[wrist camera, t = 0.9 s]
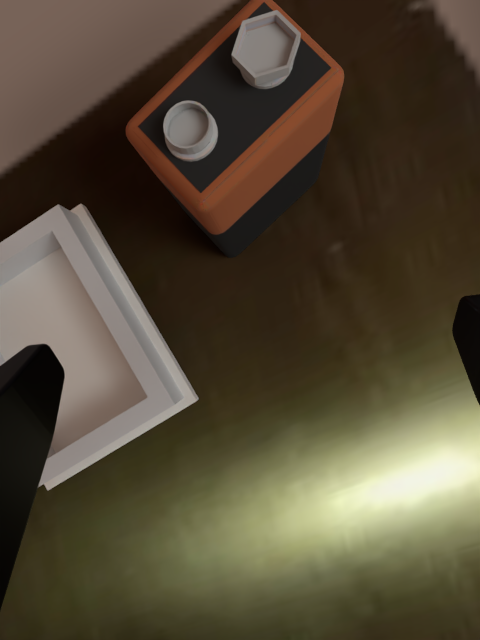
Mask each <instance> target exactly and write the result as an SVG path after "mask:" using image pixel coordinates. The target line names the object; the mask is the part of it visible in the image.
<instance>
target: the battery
mask: <svg viewBox="0 0 480 640" xmlns="http://www.w3.org/2000/svg"><path fill="white" fill-rule="evenodd" d="M343 80H344V72H343V69H342V68H341V67H340V66H339V65H338V64H337V63H336V62H335V61H334V60H333V59H332V58H331V57H330V56H329V55H328V54H327V53H326V52H325V51H324V50H323V49H322V48H321V47H320V46H319V45H318V44H317V43H316V42H315V41H314V40H313V39H312V38H311V37H310V36H309V35H308V34H307V33H306V32H305V31H304V30H303V29H302V28H300V27H299V26H298V25H297V24H296V23H295V22H294V21H293V20H292V19H291V18H290V17H289V16H288V15H287V14H286V13H285V12H284V11H283V10H282V9H281V8H280V7H279V6H278V5H277V4H276V3H275V2H274V1H273V0H251V1H250V2H249V3H248V4H247V5H246V6H245V7H244V8H243V9H242V10H241V11H240V12H239V13H238V14H237V15H236V16H235V17H234V18H233V19H231V20H230V21H229V22H228V23H227V24H226V25H225V26H224V27H223V28H222V29H221V30H220V31H219V32H218V33H217V34H216V35H215V36H214V37H213V38H212V39H211V40H210V41H209V42H208V43H207V44H206V45H205V46H204V47H203V48H202V49H201V50H200V51H199V52H198V53H197V54H196V55H195V56H194V57H193V58H192V59H191V60H190V61H189V62H188V63H187V64H186V65H185V66H184V67H183V68H182V69H181V70H180V71H179V72H178V73H177V74H176V75H175V76H174V77H173V78H172V79H171V80H170V81H169V82H168V83H167V84H166V85H165V86H164V87H163V88H162V89H161V90H160V91H159V92H158V93H157V94H156V95H155V96H154V97H152V98H151V99H150V100H149V101H148V102H147V103H146V104H145V105H144V106H143V107H142V108H141V109H140V110H139V111H138V112H137V113H136V114H135V115H134V116H133V118H132V119H131V120H130V121H129V122H128V124H127V126H126V136H127V138H128V140H129V141H130V143H131V144H132V145H133V147H134V148H135V149H136V151H137V152H138V153H139V154H140V156H141V157H142V158H143V159H144V161H145V162H146V163H147V164H148V166H149V167H150V168H151V170H152V171H153V172H154V173H155V175H156V176H157V177H158V178H159V180H160V181H161V182H162V184H163V185H164V186H165V187H166V189H167V190H168V191H169V192H170V194H171V195H172V196H173V198H174V199H175V200H176V201H177V203H178V204H179V205H180V206H181V208H182V209H183V210H184V211H185V213H186V214H187V215H188V216H189V217H190V218H191V219H192V220H193V221H194V222H195V223H196V224H197V226H198V227H199V228H200V229H201V230H202V231H203V232H204V233H205V234H206V235H207V236H208V237H209V238H210V239H211V240H212V242H213V243H214V244H215V245H216V246H217V247H218V248H219V249H220V250H221V251H222V252H223V253H224V254H225V255H226V256H227V257H230V258H233V257H236V256H237V255H238V254H240V253H241V252H242V251H243V250H244V249H245V248H246V247H247V246H248V245H249V244H250V243H252V242H253V241H254V240H255V239H256V238H257V237H258V236H259V235H260V234H261V233H262V232H263V231H264V230H265V229H266V228H267V227H269V226H270V225H271V224H272V223H273V222H274V221H275V220H276V219H277V218H278V217H279V216H280V215H281V214H282V213H283V212H284V211H286V210H287V209H288V208H289V207H290V206H291V205H292V204H293V203H294V202H295V201H296V200H297V199H298V198H299V197H300V196H301V195H302V194H304V193H305V192H306V191H307V190H308V189H309V188H310V187H311V186H312V185H313V184H314V183H315V182H316V180H317V178H318V175H319V172H320V168H321V164H322V160H323V157H324V153H325V149H326V145H327V141H328V138H329V134H330V130H331V126H332V123H333V119H334V115H335V111H336V108H337V104H338V100H339V96H340V92H341V89H342V85H343Z"/></svg>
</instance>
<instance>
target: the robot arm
mask: <svg viewBox="0 0 480 640" xmlns="http://www.w3.org/2000/svg"><path fill="white" fill-rule="evenodd" d="M452 331H453V337H454V340H455V343H456V345H457V348H458V351H459V354H460V356H461V359H462V362H463V364H464V367H465V370H466V372H467V375H468V378H469V381H470V383H471V386H472V389H473V391H474V394H475V396H476V398H477V401H478V403H479V405H480V294H479V295H470V296H464V297H462V298H461V300H460V302H459V304H458V308H457V312H456V316H455V319H454V323H453V328H452ZM64 379H65V373H64V369H63V366H62V365H61V363H60V362H59V360H58V359H57V357H56V355H55V354H54V352H53V351H52V349H51V348H50V346H48V345H47V344H35V345H29V346H26V347H25V348H23V349H22V350H21V351H19V352H18V353H17V354H15V355H14V356H13V357H11V358H10V359H9V360H7V361H6V362H5V363H3V364H2V365H1V366H0V610H1V607H2V603H3V600H4V597H5V594H6V590H7V587H8V584H9V581H10V577H11V574H12V571H13V568H14V564H15V561H16V558H17V554H18V551H19V548H20V545H21V541H22V538H23V535H24V532H25V528H26V525H27V522H28V519H29V515H30V512H31V509H32V505H33V502H34V499H35V496H36V492H37V489H38V486H39V483H40V479H41V476H42V473H43V470H44V466H45V463H46V460H47V456H48V453H49V450H50V447H51V443H52V439H53V435H54V431H55V426H56V421H57V416H58V410H59V405H60V400H61V395H62V389H63V384H64Z"/></svg>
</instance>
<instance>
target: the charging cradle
mask: <svg viewBox="0 0 480 640" xmlns="http://www.w3.org/2000/svg"><path fill="white" fill-rule="evenodd" d="M35 344H47V345H48V346H50V348H51V349H52V351H53V352H54V354H55V355H56V357H57V359H58V360H59V362H60V363H61V365H62V366H63V369H64V373H65V379H64V384H63V389H62V395H61V400H60V405H59V410H58V416H57V421H56V426H55V431H54V435H53V439H52V443H51V447H50V450H49V453H48V456H47V460H46V463H45V466H44V470H43V473H42V476H41V479H40V483H39V486H41V485H43V484H44V485H45V487H46V489H47V490H50V489H51V488H53V487H55V486H56V485H58V484H60V483H61V482H63V481H65V480H66V479H68V478H70V477H71V476H73V475H75V474H76V473H78V472H80V471H81V470H83V469H85V468H86V467H88V466H90V465H91V464H93V463H95V462H96V461H98V460H100V459H101V458H103V457H104V456H106V455H108V454H109V453H111V452H113V451H114V450H116V449H118V448H119V447H121V446H123V445H124V444H126V443H128V442H129V441H131V440H133V439H134V438H136V437H138V436H139V435H141V434H143V433H144V432H146V431H148V430H149V429H151V428H153V427H154V426H156V425H158V424H159V423H161V422H163V421H164V420H166V419H168V418H169V417H171V416H173V415H174V414H176V413H178V412H179V411H181V410H183V409H184V408H186V407H188V406H189V405H191V404H193V403H194V402H196V401H197V400H198V399H199V398H198V396H197V395H196V393H195V391H194V390H193V388H192V386H191V384H190V383H189V381H188V379H187V378H186V376H185V374H184V373H183V371H182V369H181V367H180V366H179V364H178V362H177V361H176V359H175V357H174V356H173V354H172V352H171V350H170V349H169V347H168V345H167V344H166V342H165V340H164V339H163V337H162V335H161V333H160V332H159V330H158V328H157V327H156V325H155V323H154V322H153V320H152V318H151V316H150V315H149V313H148V311H147V310H146V308H145V306H144V305H143V303H142V301H141V299H140V298H139V296H138V294H137V293H136V291H135V289H134V288H133V286H132V284H131V282H130V281H129V279H128V277H127V276H126V274H125V272H124V270H123V269H122V267H121V265H120V264H119V262H118V260H117V259H116V257H115V255H114V253H113V252H112V250H111V248H110V247H109V245H108V243H107V242H106V240H105V238H104V236H103V235H102V233H101V231H100V230H99V228H98V226H97V225H96V223H95V221H94V219H93V218H92V216H91V214H90V213H89V211H88V209H87V208H86V206H84V205H82V204H79V205H78V206H76V207H75V208H73V209H72V210H70V211H69V210H68V209H66V208H64V207H62V206H61V205H59V204H58V205H57V206H55V207H54V208H52V209H50V210H49V211H47V212H46V213H44V214H43V215H41V216H40V217H38V218H37V219H35V220H34V221H32V222H31V223H29V224H28V225H26V226H25V227H23V228H22V229H20V230H19V231H17V232H16V233H14V234H13V235H11V236H10V237H8V238H7V239H5V240H4V241H2V242H1V243H0V366H1V365H2V364H3V363H5V362H6V361H7V360H9V359H10V358H11V357H13V356H14V355H15V354H17V353H18V352H19V351H21V350H22V349H23V348H25V347H26V346H29V345H35ZM39 486H38V487H39Z"/></svg>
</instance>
